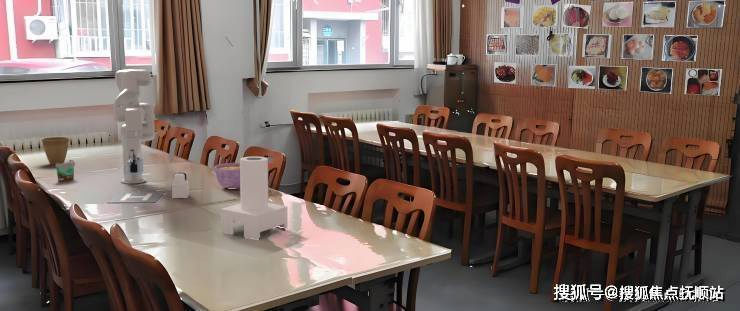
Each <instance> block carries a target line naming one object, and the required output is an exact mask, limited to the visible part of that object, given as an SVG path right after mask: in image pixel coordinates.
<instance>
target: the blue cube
mask: <svg viewBox="0 0 740 311" xmlns="http://www.w3.org/2000/svg"><path fill="white" fill-rule="evenodd" d="M136 164H137V173H131V172H130V160H129V161H127V169H128V174H141V173H142V174H143V173H144V159H143V158H142V159H139V160H137V162H136Z"/></svg>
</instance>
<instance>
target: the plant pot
mask: <svg viewBox="0 0 740 311" xmlns="http://www.w3.org/2000/svg"><path fill="white" fill-rule="evenodd" d="M69 141H70V137H66V136H65V137H64V136H54V137H53V136H52V137H51V136H50V137H44V138H41V143H42V147H43V149H44V153H45V156H46V158H47V160H48V163H49V165H50V166H56V164H61V163H64V162H65V161H66V157H67V154H68V149H69V143H70V142H69Z"/></svg>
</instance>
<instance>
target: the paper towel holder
mask: <svg viewBox="0 0 740 311" xmlns="http://www.w3.org/2000/svg"><path fill="white" fill-rule="evenodd" d="M239 163H240V189H239V190H240V203H236V204H234V205H230V206H226V207H223V208H220V228H221V229H220V231H221V232H222V233H221V232H220V233H221V234H224V233H227V234H226V235H228V234H233V235H234V222H239V223H243V238H244V237H248V238H254V239H258V238H260V239H261V233H262V232H264V231H267V230H271V229H273V228H275V227H276V226H280V227H284V229H286V228H287V229H288V206H286V205H282V204H275V203H271V202H269V158H268V157H264V156H245V157H244V156H243V157H241V158H240V159H239ZM284 229H283V230H284Z"/></svg>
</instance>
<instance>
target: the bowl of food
mask: <svg viewBox="0 0 740 311" xmlns="http://www.w3.org/2000/svg"><path fill="white" fill-rule="evenodd" d="M213 167H214V173H215V176H216V180H217V182H218V184H219V186H221V187H223V188H225V189H226V188H240V162H231V163H229V162H227V163H220V164H216V165H214V166H213Z"/></svg>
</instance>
